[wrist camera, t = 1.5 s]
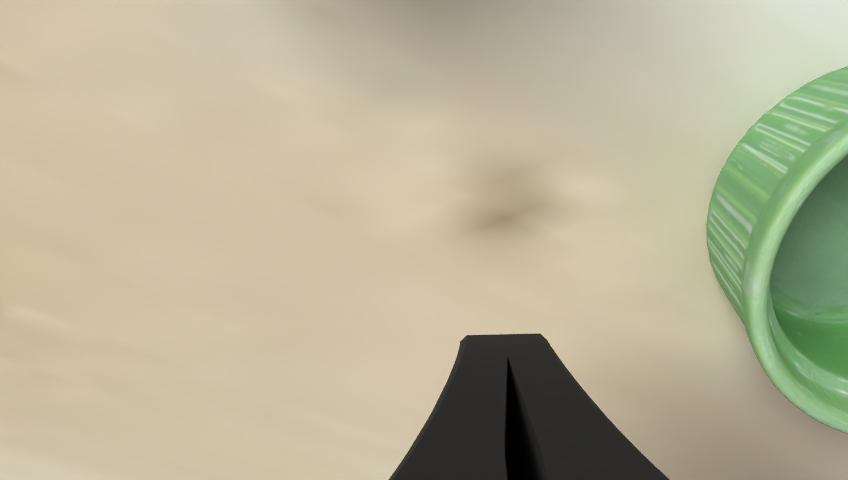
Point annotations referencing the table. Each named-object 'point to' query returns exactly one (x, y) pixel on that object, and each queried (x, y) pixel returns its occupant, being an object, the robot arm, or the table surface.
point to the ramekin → (791, 244)
